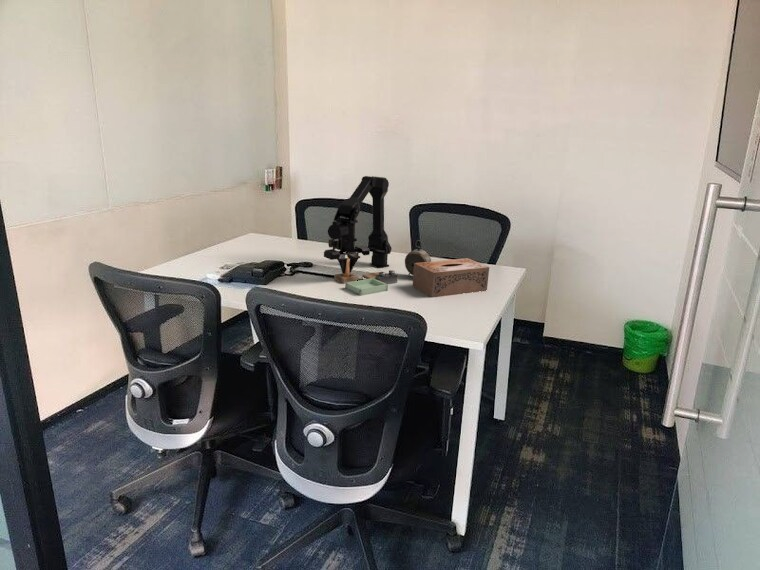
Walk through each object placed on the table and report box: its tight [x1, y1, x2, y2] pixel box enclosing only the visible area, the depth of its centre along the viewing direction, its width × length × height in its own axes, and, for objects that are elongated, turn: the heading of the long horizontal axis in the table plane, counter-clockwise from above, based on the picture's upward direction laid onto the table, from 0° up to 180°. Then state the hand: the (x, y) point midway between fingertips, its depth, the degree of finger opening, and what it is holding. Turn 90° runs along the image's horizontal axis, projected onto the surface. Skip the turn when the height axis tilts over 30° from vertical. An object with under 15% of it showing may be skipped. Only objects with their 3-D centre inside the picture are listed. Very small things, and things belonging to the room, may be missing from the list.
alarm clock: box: [404, 239, 432, 276], centre depth 236 cm, size 11×5×16 cm, turn 55°
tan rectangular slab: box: [361, 271, 387, 279], centre depth 232 cm, size 10×7×2 cm
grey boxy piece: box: [375, 270, 399, 285], centre depth 228 cm, size 9×3×5 cm, turn 127°
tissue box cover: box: [412, 257, 490, 298], centre depth 224 cm, size 26×14×10 cm, turn 117°
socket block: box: [333, 272, 359, 285], centre depth 230 cm, size 7×7×2 cm
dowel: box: [343, 257, 350, 277], centre depth 229 cm, size 2×2×9 cm
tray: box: [345, 278, 389, 297], centre depth 219 cm, size 13×10×2 cm
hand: (346, 273), depth 229 cm, fingers closed on dowel, 2 cm apart
